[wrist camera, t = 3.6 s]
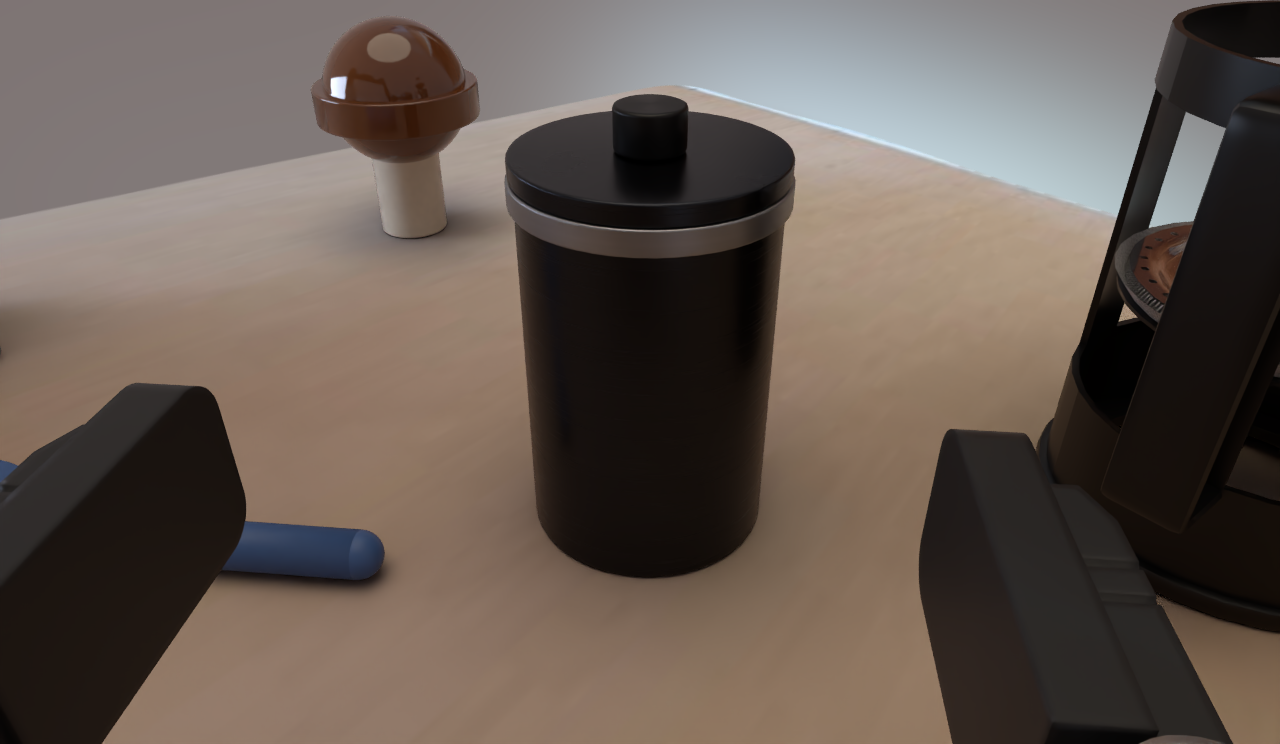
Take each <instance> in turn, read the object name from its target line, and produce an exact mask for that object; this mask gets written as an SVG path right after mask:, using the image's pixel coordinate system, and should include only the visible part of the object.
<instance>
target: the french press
mask: <svg viewBox="0 0 1280 744" xmlns="http://www.w3.org/2000/svg"><path fill="white" fill-rule="evenodd" d="M1256 57H1275V58H1279V57H1280V1H1278V0H1277V1H1274V0H1272V1H1247V2H1232V3H1221V4H1212V5H1207V6H1202V7H1197V8H1192V9H1189V10H1187V11H1184V12H1181V13H1179V14H1178V15H1177V16H1176V17H1175V18H1174V19H1173V21H1172V24H1171V27H1170V31H1169V34H1168V38H1167V41H1166V44H1165V48H1164V51H1163V54H1162V57H1161V61H1160V64H1159V68H1158V71H1157V74H1156V78H1155V83H1156V90H1155V94H1154V97H1153V100H1152V104H1151V107H1150V110H1149V114H1148V117H1147V120H1146V124H1145V127H1144V131H1143V134H1142V137H1141V140H1140V144H1139V147H1138V150H1137V154H1136V157H1135V160H1134V164H1133V167H1132V170H1131V174H1130V177H1129V180H1128V183H1127V187H1126V190H1125V193H1124V197H1123V200H1122V204H1121V207H1120V210H1119V213H1118V217H1117V220H1116V223H1115V227H1114V230H1113V233H1112V237H1111V240H1110V243H1109V247H1108V250H1107V253H1106V257H1105V260H1104V263H1103V267H1102V270H1101V273H1100V277H1099V280H1098V283H1097V287H1096V290H1095V293H1094V297H1093V300H1092V303H1091V307H1090V310H1089V313H1088V317H1087V320H1086V323H1085V327H1084V330H1083V333H1082V337H1081V340H1080V343H1079V345H1078V347H1077V349H1076V351H1075V353H1074V354H1073V356H1072V359H1071V363H1070V366H1069V370H1068V373H1067V376H1066V380H1065V383H1064V386H1063V390H1062V393H1061V396H1060V400H1059V403H1058V406H1057V410H1056V413H1055V416H1054V418H1053V419H1052V420H1051V421H1050V422H1049V423H1048V424H1047V425H1046V427H1045V429H1044V431H1043V433H1042V435H1041V437H1040V439H1039V440H1038V444H1037V447H1036V454H1037V456H1038V458H1039V460H1040V463H1041V465H1042V467H1043V469H1044V472H1045V474H1046V476H1047V478H1048V481H1049V483H1050V484H1067V485H1079V486H1080V487H1081V488H1082V489H1083V490H1084V491H1086V492H1087V493H1088V494H1089V495H1090V496H1091V497H1092V498H1093V499H1094V500H1095V501H1097V502H1098V503H1099V504H1100V505H1101V506H1102V507H1103V508H1104V509H1105V510H1106V511H1108V512H1109V513H1110V514H1111V515H1112V516H1113V517H1114V518H1115V519H1116V520H1117V521H1118V522H1119V524H1120V526H1121V528H1122V530H1123V532H1124V534H1125V536H1126V537H1127V539H1128V541H1129V543H1130V545H1131V547H1132V549H1133V551H1134V553H1135V555H1136V557H1137V559H1138V561H1139V570H1144V572H1145V574H1146V576H1147V578H1148V580H1149V582H1150V584H1151V586H1152V588H1153V590H1154V591H1156V592H1158V593H1160V594H1162V595H1163V596H1165V597H1167V598H1169V599H1171V600H1173V601H1176V602H1178V603H1181V604H1184V605H1186V606H1189V607H1192V608H1194V609H1197V610H1200V611H1202V612H1205V613H1207V614H1210V615H1213V616H1215V617H1218V618H1222V619H1226V620H1229V621H1233V622H1237V623H1241V624H1245V625H1248V626H1252V627H1256V628H1260V629H1264V630H1271V631H1278V632H1280V501H1276V500H1271V499H1268V498H1265V497H1261V496H1258V495H1255V494H1252V493H1249V492H1246V491H1243V490H1239V489H1236V488H1233V487H1230V486H1227V485H1226V482H1227V480H1228V478H1229V476H1230V473H1231V471H1232V469H1233V466H1234V464H1235V462H1236V460H1237V457H1238V455H1239V453H1240V451H1241V448H1242V446H1243V444H1244V442H1245V439H1246V437H1247V435H1248V436H1251V437H1253V438H1256V439H1259V440H1261V441H1264V442H1267V443H1269V444H1272V445H1274V446H1276V447H1278V448H1280V64H1276V63H1271V62H1268V61H1264V60H1260V59H1256ZM1186 112H1188V113H1190V114H1192V115H1195V116H1197V117H1200V118H1202V119H1204V120H1207V121H1209V122H1212V123H1214V124H1216V125H1219V126H1221V127H1225V128H1226V130H1225V133H1224V136H1223V139H1222V142H1221V144H1220V147H1219V150H1218V153H1217V156H1216V159H1215V162H1214V165H1213V168H1212V170H1211V173H1210V176H1209V179H1208V182H1207V185H1206V188H1205V191H1204V193H1203V196H1202V199H1201V202H1200V205H1199V208H1198V211H1197V213H1196V216H1195V219H1194V221H1193V222H1181V223H1172V224H1167V225H1162V226H1157V227H1152V228H1149V225H1150V221H1151V218H1152V215H1153V212H1154V209H1155V206H1156V203H1157V200H1158V196H1159V194H1160V190H1161V187H1162V184H1163V181H1164V178H1165V175H1166V172H1167V168H1168V166H1169V162H1170V159H1171V156H1172V153H1173V150H1174V147H1175V144H1176V140H1177V138H1178V134H1179V131H1180V128H1181V125H1182V122H1183V119H1184V116H1185V113H1186ZM1148 228H1149V229H1148ZM1124 302H1125V304H1126V305H1127V306H1128V308H1129V309H1130V310H1131V311H1132V312H1133V313H1134V314H1135V315H1136V316H1137V317H1138V318H1133V319H1128V320H1124V321H1120V322H1118V321H1119V318H1120V315H1121V312H1122V308H1123V305H1124ZM1120 425H1122V428H1121V429H1120V428H1119V427H1118V426H1120Z"/></svg>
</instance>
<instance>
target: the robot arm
mask: <svg viewBox="0 0 1280 744" xmlns="http://www.w3.org/2000/svg"><path fill="white" fill-rule="evenodd" d="M245 519H246V499H245V493H244V490H243V486H242V483H241V479H240V476H239V473H238V469H237V466H236V463H235V459H234V456H233V453H232V449H231V446H230V443H229V439H228V436H227V433H226V429H225V426H224V423H223V419H222V416H221V413H220V409H219V406H218V403H217V401H216V399H215V397H214V395H213V394H212V393H211V392H210V391H209V390H208V389H206V388H204V387H201V386H184V385H165V384H147V383H134V384H131V385H128V386H126V387H125V388H124V389H123V390H121V391H120V392H119V393H118V394H117V395H116V396H115V397H114V398H113V399H112V400H111V401H109V402H108V403H107V404H106V405H105V406H104V407H103V408H102V409H101V410H100V411H99V412H98V413H97V414H96V415H95V416H93V417H92V418H91V419H90V420H89V421H88V422H87V423H86V424H85V425H81V426H79V427H78V428H76V429H74V430H72V431H70V432H69V433H67V434H65V435H63V436H61V437H60V438H58V439H56V440H54V441H52V442H51V443H49V444H47V445H45V446H43V447H42V448H40V449H38V450H36V451H35V452H33V453H32V454H31V455H30V456H29V457H28V458H27V459H26V460H24V461H23V462H22V463H21V464H20V465H19V466H18V467H17V468H16V469H15V470H13V471H12V472H11V473H10V474H9V475H8V476H7V477H6V478H5V479H4V480H2V481H1V482H0V744H102V742H103V741H104V739H105V738H106V737H107V735H108V734H109V732H110V731H111V729H112V728H113V726H114V725H115V723H116V722H117V721H118V719H119V718H120V716H121V715H122V713H123V712H124V710H125V709H126V707H127V706H128V705H129V703H130V702H131V700H132V699H133V697H134V696H135V694H136V693H137V692H138V690H139V689H140V687H141V686H142V684H143V683H144V681H145V680H146V678H147V677H148V676H149V674H150V673H151V671H152V670H153V668H154V667H155V665H156V664H157V662H158V661H159V660H160V658H161V657H162V655H163V654H164V652H165V651H166V649H167V648H168V646H169V645H170V644H171V642H172V641H173V639H174V638H175V636H176V635H177V633H178V632H179V630H180V629H181V628H182V626H183V625H184V623H185V622H186V620H187V619H188V617H189V616H190V614H191V613H192V612H193V610H194V609H195V607H196V606H197V604H198V603H199V601H200V600H201V598H202V597H203V596H204V594H205V593H206V591H207V590H208V588H209V587H210V585H211V584H212V583H213V581H214V580H215V578H216V577H217V575H218V574H219V572H220V571H221V569H222V568H223V567H224V565H225V564H226V562H227V561H228V559H229V558H230V556H231V555H232V553H233V552H234V550H235V549H236V547H237V545H238V543H239V541H240V539H241V536H242V533H243V529H244V525H245ZM919 585H920V595H921V600H922V605H923V610H924V615H925V619H926V624H927V628H928V633H929V637H930V642H931V647H932V651H933V656H934V660H935V665H936V670H937V674H938V679H939V683H940V688H941V693H942V697H943V702H944V706H945V711H946V715H947V720H948V725H949V729H950V734H951V738H952V743H953V744H1233V743H1232V741H1231V739H1230V737H1229V735H1228V733H1227V731H1226V729H1225V727H1224V725H1223V723H1222V722H1221V720H1220V718H1219V716H1218V714H1217V712H1216V710H1215V708H1214V706H1213V704H1212V702H1211V700H1210V698H1209V696H1208V694H1207V692H1206V691H1205V689H1204V687H1203V685H1202V683H1201V681H1200V679H1199V677H1198V675H1197V673H1196V671H1195V669H1194V667H1193V665H1192V663H1191V661H1190V660H1189V658H1188V656H1187V654H1186V652H1185V650H1184V648H1183V646H1182V644H1181V642H1180V640H1179V638H1178V636H1177V634H1176V632H1175V630H1174V629H1173V627H1172V625H1171V623H1170V621H1169V619H1168V617H1167V615H1166V613H1165V611H1164V609H1163V607H1162V605H1157V602H1156V598H1157V596H1156V594H1155V592H1154V590H1153V588H1152V586H1151V584H1150V582H1149V580H1148V578H1147V576H1146V574H1145V572H1144V570H1139V561H1138V559H1137V557H1136V555H1135V553H1134V551H1133V549H1132V547H1131V545H1130V543H1129V541H1128V539H1127V537H1126V536H1125V534H1124V532H1123V530H1122V528H1121V526H1120V524H1119V522H1118V521H1117V520H1116V519H1115V518H1114V517H1113V516H1112V515H1111V514H1110V513H1109V512H1108V511H1106V510H1105V509H1104V508H1103V507H1102V506H1101V505H1100V504H1099V503H1098V502H1097V501H1095V500H1094V499H1093V498H1092V497H1091V496H1090V495H1089V494H1088V493H1087V492H1086V491H1084V490H1083V489H1082V488H1081V487H1080V486H1079V485H1067V484H1050V483H1049V481H1048V478H1047V476H1046V474H1045V472H1044V469H1043V467H1042V465H1041V463H1040V460H1039V458H1038V456H1037V454H1036V451H1035V449H1034V447H1033V445H1032V442H1031V441H1030V439H1029V437H1028V436H1027V435H1026V434H1024V433H1014V432H996V431H977V430H959V429H950V430H948V431H947V432H946V434H945V436H944V438H943V441H942V445H941V449H940V453H939V458H938V463H937V467H936V472H935V477H934V482H933V486H932V491H931V496H930V500H929V505H928V510H927V514H926V519H925V524H924V529H923V533H922V538H921V544H920V553H919Z"/></svg>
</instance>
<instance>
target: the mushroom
mask: <svg viewBox="0 0 1280 744" xmlns="http://www.w3.org/2000/svg"><path fill="white" fill-rule="evenodd" d="M311 93H312V98H313V104H314V109H315V114H316V120H317V124H318V126H319V127H320V128H321V129H322V130H324V131H325V132H327V133H330V134H332V135H335V136H339V137H342V138H344V140H345V141H346V142H347V143H348V144H349V145H351V146H352V147H353V148H354V149H356V150H357V151H358V152H360V153H362V154H363V155H365V156H367V157H369V158H372V164H373V171H374V177H375V183H376V189H377V195H378V202H379V208H380V214H381V220H382V227H383V230H384V231H385V232H386V233H387V234H389V235H391V236H394V237H400V238H418V237H424V236H429V235H432V234H435V233H437V232H439V231H441V230H443V229H444V228H445V227H446V224H447V217H446V209H445V201H444V192H443V184H442V176H441V167H440V159H439V152H441V151H442V150H444V149H445V148H446V147H447V146H448V145H449V144H450V143H451V142H452V141H453V139H454V138H455V137H456V135H457V134H458V132H459V130H460V129H461V128H462V127H465V126H467V125H469V124H470V123H472V122H473V121H475V120H476V119H477V117H478V116H479V113H480V106H479V95H478V84H477V79H476V76H475V75H474V74H473V73H471V72H469V71H467V70H465V69H463V67H462V64H461V62H460V60H459V58H458V57H457V55H456V53H455V51H454V50H453V49H452V48H451V46H450V45H449V44H448V43H447V42H446V41H445V40H444V39H443V38H442V37H441V36H440V35H439V34H438V33H436V32H435V31H434V30H432V29H431V28H429V27H427V26H426V25H424V24H422V23H419V22H417V21H414V20H411V19H408V18H404V17H397V16H383V17H375V18H371V19H368V20H365V21H363V22H360V23H358V24H357V25H355V26H353V27H351V28H350V29H349V30H347V31H346V32H345V33H344V34H343V35H342V36H341V37H340V38H339V39H338V40H337V41H336V43H335V44H334V46H333V47H332V48H331V50H330V52H329V54H328V56H327V59H326V62H325V65H324V69H323V75H322V78H321V79H319V80H318V81H316V82H315V83H314V84H313V85H312V88H311Z"/></svg>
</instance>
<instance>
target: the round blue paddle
mask: <svg viewBox="0 0 1280 744" xmlns="http://www.w3.org/2000/svg"><path fill="white" fill-rule="evenodd" d="M17 467H18V466H17V465H15V464H12V463H10V462H6V461H2V460H0V482H1V481H2V480H4V479H5V478H6V477H7V476H8V475H9V474H10V473H11V472H12V471H13V470H15V469H16V468H17ZM384 554H385V552H384V547H383V544H382V542H381V540H380V539H379V538H378V537H377V536H376V535H375V534H374V533H372V532H370V531H367V530H361V529H347V528H333V527H319V526H305V525H290V524H276V523H262V522H248V521H245V525H244V529H243V533H242V536H241V539H240V541H239V543H238V545H237V547H236V549H235V550H234V552H233V553H232V555H231V556H230V558H229V559H228V561H227V562H226V564H225V565H224V567H223V568H222V569H221V570H230V571H243V572H256V573H270V574H283V575H296V576H309V577H323V578H336V579H349V580H362V579H366V578H368V577H370V576H372V575H373V574H375V573H376V572H377V571H378V570H379V568H380V567H381V565H382V563H383V560H384Z"/></svg>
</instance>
